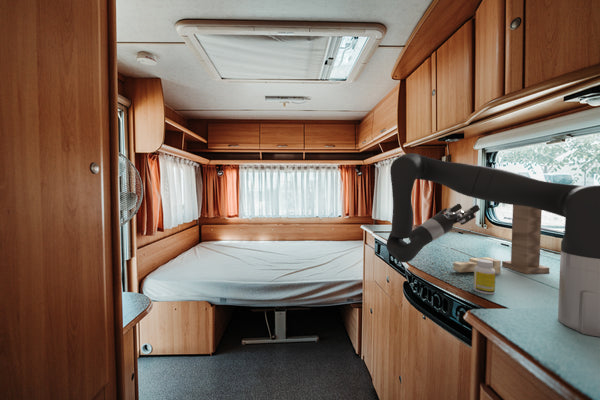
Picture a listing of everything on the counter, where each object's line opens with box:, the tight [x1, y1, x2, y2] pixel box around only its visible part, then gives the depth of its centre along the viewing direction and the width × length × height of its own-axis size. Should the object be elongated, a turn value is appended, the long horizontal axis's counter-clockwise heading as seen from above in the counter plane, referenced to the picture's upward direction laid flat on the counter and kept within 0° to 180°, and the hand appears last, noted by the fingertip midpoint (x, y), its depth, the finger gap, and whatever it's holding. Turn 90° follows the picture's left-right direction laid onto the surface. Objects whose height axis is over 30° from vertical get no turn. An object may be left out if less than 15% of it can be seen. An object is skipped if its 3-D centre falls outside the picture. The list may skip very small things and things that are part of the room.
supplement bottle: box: [473, 259, 496, 295], centre depth 76 cm, size 5×5×10 cm
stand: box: [501, 205, 550, 275], centre depth 98 cm, size 12×12×31 cm
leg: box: [452, 256, 502, 275], centre depth 95 cm, size 17×5×5 cm, turn 99°
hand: (468, 206), depth 94 cm, fingers open, 8 cm apart
